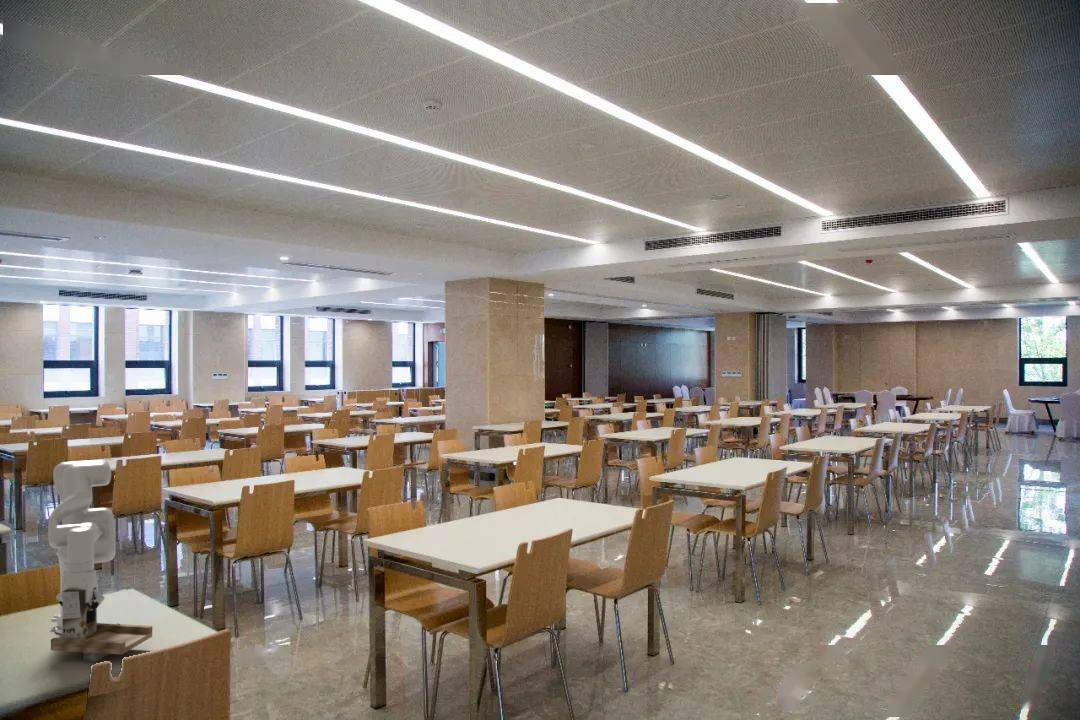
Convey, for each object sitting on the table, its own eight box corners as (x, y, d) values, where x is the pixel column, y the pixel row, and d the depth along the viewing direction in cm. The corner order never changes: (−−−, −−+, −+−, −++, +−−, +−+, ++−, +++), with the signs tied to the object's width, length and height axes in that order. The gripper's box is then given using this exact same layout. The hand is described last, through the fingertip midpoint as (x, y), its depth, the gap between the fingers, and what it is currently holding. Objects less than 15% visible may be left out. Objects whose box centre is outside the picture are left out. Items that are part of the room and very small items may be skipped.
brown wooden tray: (50, 661, 234) (50, 638, 234) (85, 643, 249) (85, 621, 249) (121, 665, 231) (122, 642, 231) (152, 647, 246) (152, 625, 246)
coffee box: (82, 641, 237) (82, 591, 237) (61, 642, 236) (61, 591, 236) (97, 631, 246) (97, 582, 246) (77, 631, 245) (77, 582, 245)
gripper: (46, 568, 238) (46, 624, 238) (97, 570, 236) (96, 626, 236) (64, 562, 246) (63, 616, 246) (113, 564, 244) (112, 618, 244)
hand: (80, 621), depth 241 cm, fingers closed on coffee box, 7 cm apart
